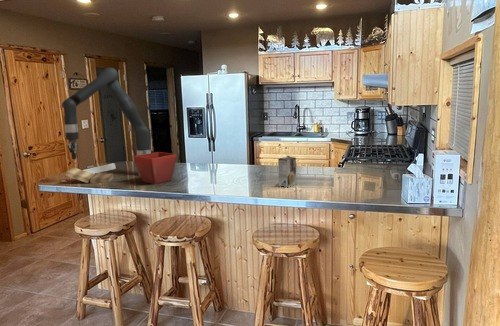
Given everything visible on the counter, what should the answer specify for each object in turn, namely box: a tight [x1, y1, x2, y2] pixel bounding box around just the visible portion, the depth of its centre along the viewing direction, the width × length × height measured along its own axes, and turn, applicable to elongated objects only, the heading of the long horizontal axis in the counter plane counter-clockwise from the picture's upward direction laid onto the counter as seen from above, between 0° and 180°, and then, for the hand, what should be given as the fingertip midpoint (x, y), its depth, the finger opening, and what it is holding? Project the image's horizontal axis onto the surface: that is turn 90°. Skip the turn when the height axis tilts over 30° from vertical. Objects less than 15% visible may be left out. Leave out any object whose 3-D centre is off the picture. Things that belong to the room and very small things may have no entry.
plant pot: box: [133, 151, 177, 185], centre depth 227 cm, size 19×19×17 cm
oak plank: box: [64, 167, 96, 184], centre depth 233 cm, size 14×14×3 cm
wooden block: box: [89, 173, 114, 184], centre depth 235 cm, size 11×14×3 cm
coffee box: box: [277, 156, 297, 188], centre depth 207 cm, size 9×6×16 cm
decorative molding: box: [82, 162, 117, 175], centre depth 265 cm, size 34×5×10 cm
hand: (74, 158), depth 231 cm, fingers closed
